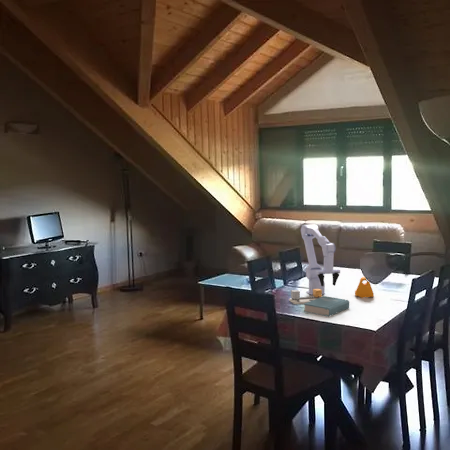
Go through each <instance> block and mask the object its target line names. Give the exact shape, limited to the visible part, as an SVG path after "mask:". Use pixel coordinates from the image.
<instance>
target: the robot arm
mask: <svg viewBox="0 0 450 450" xmlns="http://www.w3.org/2000/svg"><path fill="white" fill-rule="evenodd" d="M319 228H320V227H319V226H318V225H317V224H316V223H314V224H302V225H301V227H300V234H301V239H303V241H304V246H305V252H306V256H307V261H308V266H307V267H306V268H305V271H306V272H305V277H306V278H307V280H308V291H306V293H307V294H308V295H311V296H313V289H321V290H322V295H326V293H325V284H326V283H325V275H329V274H331V276H332V285H333V286H336V283H337V280H338V278H339V276H340V274H341V269H334V258H335V257H334V254H335V253H336V249H337V247H336V244H335V242H330V240H329V239H328V238H327V237H326V236H325V235H322V233H321V232H320V230H319ZM313 239H316V240H317V243H318V244H319V246H320V247H321V249H322V255H323V267H322V266H321V265H320V264H319V263H318V260H317V256H316V252H315V246H314V243H313ZM322 268H323V269H322Z"/></svg>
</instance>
